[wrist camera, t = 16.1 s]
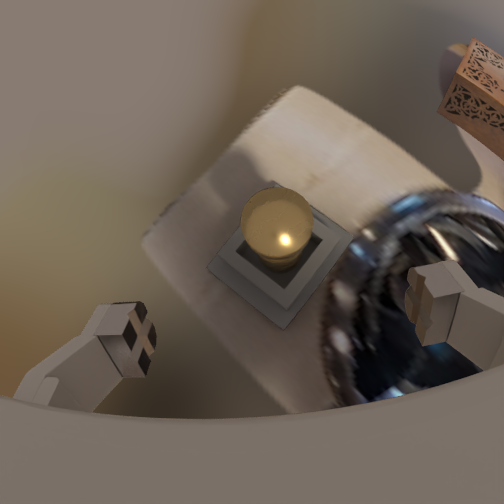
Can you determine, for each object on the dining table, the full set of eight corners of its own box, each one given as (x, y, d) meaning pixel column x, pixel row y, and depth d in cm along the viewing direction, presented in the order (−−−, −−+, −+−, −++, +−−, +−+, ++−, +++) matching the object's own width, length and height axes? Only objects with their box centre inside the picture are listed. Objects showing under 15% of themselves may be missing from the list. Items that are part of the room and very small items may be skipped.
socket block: (283, 330, 38) (282, 329, 34) (208, 269, 41) (199, 262, 37) (352, 239, 39) (358, 228, 35) (277, 187, 42) (274, 172, 38)
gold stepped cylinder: (284, 289, 38) (282, 270, 27) (243, 256, 39) (225, 226, 29) (317, 247, 38) (327, 214, 28) (276, 216, 40) (271, 174, 29)
